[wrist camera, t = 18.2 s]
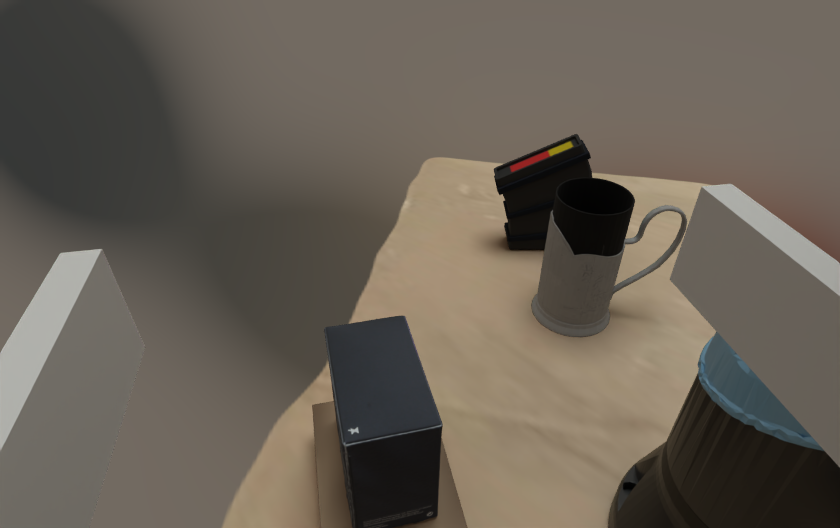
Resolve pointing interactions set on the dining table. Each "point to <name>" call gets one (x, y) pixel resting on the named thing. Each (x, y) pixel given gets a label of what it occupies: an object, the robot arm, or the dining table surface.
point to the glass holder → (588, 255)
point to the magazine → (538, 188)
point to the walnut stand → (332, 483)
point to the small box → (384, 423)
